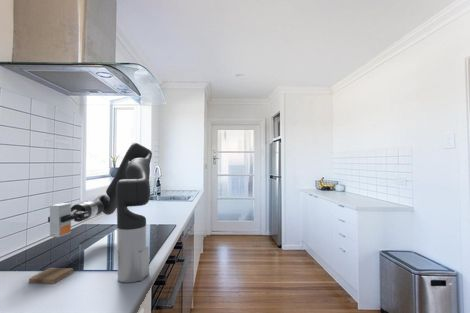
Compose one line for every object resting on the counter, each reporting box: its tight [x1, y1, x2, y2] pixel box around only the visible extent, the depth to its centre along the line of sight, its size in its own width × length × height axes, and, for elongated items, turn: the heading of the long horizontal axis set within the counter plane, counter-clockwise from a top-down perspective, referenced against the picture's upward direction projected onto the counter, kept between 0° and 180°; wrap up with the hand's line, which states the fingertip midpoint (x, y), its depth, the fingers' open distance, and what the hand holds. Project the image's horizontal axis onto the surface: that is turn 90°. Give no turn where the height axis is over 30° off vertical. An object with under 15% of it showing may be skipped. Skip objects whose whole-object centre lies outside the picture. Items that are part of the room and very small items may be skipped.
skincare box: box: [49, 202, 72, 238], centre depth 107 cm, size 6×4×12 cm
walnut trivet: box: [28, 267, 74, 284], centre depth 95 cm, size 9×9×1 cm
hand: (55, 219), depth 105 cm, fingers closed on skincare box, 4 cm apart
